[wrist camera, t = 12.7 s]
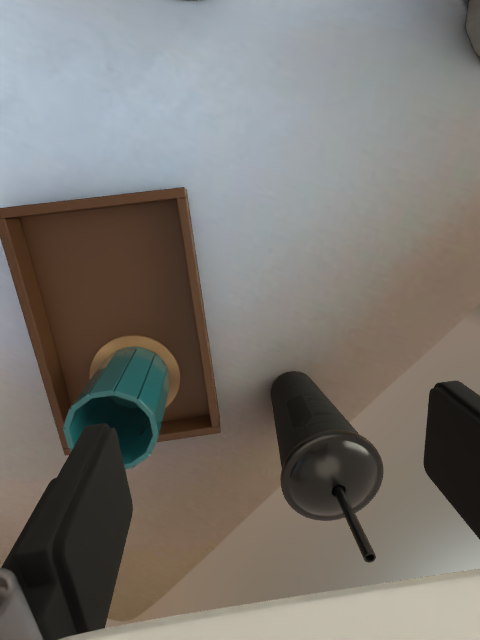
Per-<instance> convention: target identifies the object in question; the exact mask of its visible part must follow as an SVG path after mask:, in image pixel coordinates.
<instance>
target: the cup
mask: <svg viewBox="0 0 480 640" xmlns="http://www.w3.org/2000/svg"><path fill="white" fill-rule="evenodd" d="M169 388H170V374H169V370H168V368H167V365H166V364H165V362H164V361H163V360H162V358H161V357H160V356H158V355H157V354H156V353H154V352H153V351H151V350H148V349H146V348H142V347H125V348H122V349H119V350H117V351H115V352H114V353H112V354H111V355H110V356H109V357H108V358H107V359H105V360H104V361H103V363H102V364H101V365H100V367H99V368H98V369H97V371H96V372H95V374H94V375H93V376H92V378H91V379H90V381H89V382H88V383H87V385H86V386H85V388H84V389H83V390H82V392H81V393H80V395H79V396H78V397H77V399H76V400H75V402H74V403H73V404H72V406H71V407H70V408H69V411H68V414H67V417H66V420H65V423H64V425H63V431H64V435H65V438H66V441H67V445H68V448H70V451H72V449H73V447H74V446H75V444H76V442H77V440H78V438H79V437H80V435H81V433H82V431H83V429H84V428H85V427H86V426H89V425H97V424H105V423H106V424H108V426H109V428H115V429H116V432H117V437H118V441H119V446H120V450H121V454H122V459H123V463H124V468H125V469H129V468H132V467H135V466H136V465H137V464H139V463H140V462H142V461H143V460H144V459H146V458H147V457H149V456H150V454H151V453H152V451H153V449H154V446H155V444H156V441H157V439H158V437H159V432H160V428H161V423H162V419H163V415H164V410H165V406H166V401H167V397H168V392H169Z"/></svg>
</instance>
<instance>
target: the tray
mask: <svg viewBox="0 0 480 640" xmlns="http://www.w3.org/2000/svg"><path fill="white" fill-rule="evenodd" d="M0 238H1V241H2V244H3V248H4V251H5V255H6V258H7V261H8V265H9V268H10V271H11V275H12V278H13V282H14V285H15V288H16V292H17V295H18V299H19V302H20V305H21V309H22V312H23V315H24V319H25V322H26V326H27V329H28V332H29V336H30V339H31V342H32V346H33V349H34V353H35V356H36V359H37V363H38V366H39V369H40V373H41V376H42V380H43V383H44V386H45V390H46V393H47V397H48V400H49V403H50V407H51V410H52V413H53V417H54V420H55V424H56V427H57V430H58V434H59V437H60V440H61V444H62V447H63V450H64V454H65V455H70V453H71V451H70V448H68V445H67V441H66V438H65V435H64V431H63V425H64V423H65V420H66V417H67V414H68V411H69V408H70V407H71V406H72V404H73V403H74V402H75V400H76V399H77V397H78V396H79V395H80V393H81V392H82V390H83V389H84V388H85V386H86V385H87V383H88V382H89V381H90V367H91V363H92V361H93V359H94V357H95V355H96V354H97V352H98V351H99V350H100V349H101V348H102V347H103V346H104V345H105V344H107V343H108V342H110V341H111V340H114V339H116V338H119V337H122V336H127V335H140V336H145V337H149V338H152V339H154V340H156V341H158V342H160V343H161V344H163V345H164V346H165V347H167V348H168V349H169V350H170V351H171V353H172V354H173V355H174V357H175V359H176V360H177V363H178V365H179V369H180V375H181V379H180V386H179V390H178V393H177V395H176V396H175V398H174V399H173V401H172V402H171V403H170V404H169V405H168V406H167V407H166V408H165V410H164V415H163V419H162V423H161V428H160V432H159V437H158V439H157V441H156V442H161V441H168V440H175V439H181V438H188V437H195V436H202V435H209V434H216V433H220V415H219V409H218V402H217V395H216V388H215V381H214V374H213V367H212V361H211V354H210V347H209V340H208V333H207V326H206V319H205V313H204V306H203V299H202V292H201V285H200V278H199V272H198V265H197V258H196V251H195V244H194V237H193V230H192V224H191V217H190V210H189V203H188V196H187V190H186V189H185V188H184V187H182V188H173V189H164V190H155V191H146V192H138V193H129V194H120V195H111V196H102V197H94V198H85V199H76V200H67V201H58V202H50V203H41V204H32V205H23V206H14V207H6V208H0Z"/></svg>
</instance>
